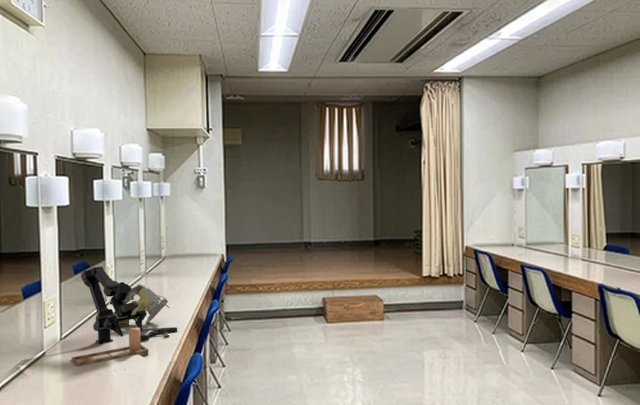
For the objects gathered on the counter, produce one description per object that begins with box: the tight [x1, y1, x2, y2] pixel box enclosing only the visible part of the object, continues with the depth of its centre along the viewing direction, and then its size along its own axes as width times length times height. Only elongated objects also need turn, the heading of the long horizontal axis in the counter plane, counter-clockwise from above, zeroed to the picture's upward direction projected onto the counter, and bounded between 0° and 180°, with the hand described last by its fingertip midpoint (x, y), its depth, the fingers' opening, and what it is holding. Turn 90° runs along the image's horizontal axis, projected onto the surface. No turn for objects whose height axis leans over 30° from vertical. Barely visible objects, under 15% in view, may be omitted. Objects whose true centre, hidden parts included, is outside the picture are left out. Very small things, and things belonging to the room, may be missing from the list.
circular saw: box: [113, 284, 171, 327], centre depth 284 cm, size 10×30×25 cm
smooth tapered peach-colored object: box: [128, 327, 141, 352], centre depth 229 cm, size 5×5×10 cm
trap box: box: [71, 343, 149, 367], centre depth 222 cm, size 30×11×2 cm, turn 127°
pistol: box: [140, 326, 178, 342], centre depth 258 cm, size 3×20×15 cm
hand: (132, 334), depth 230 cm, fingers open, 9 cm apart
